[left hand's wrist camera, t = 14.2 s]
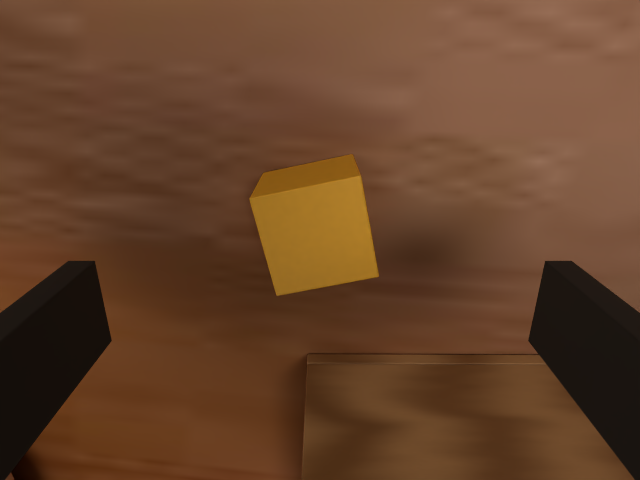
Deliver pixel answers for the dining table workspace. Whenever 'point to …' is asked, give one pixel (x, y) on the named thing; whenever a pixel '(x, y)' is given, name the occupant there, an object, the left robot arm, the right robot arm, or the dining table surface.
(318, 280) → the block
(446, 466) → the wooden box
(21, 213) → the dining table surface
